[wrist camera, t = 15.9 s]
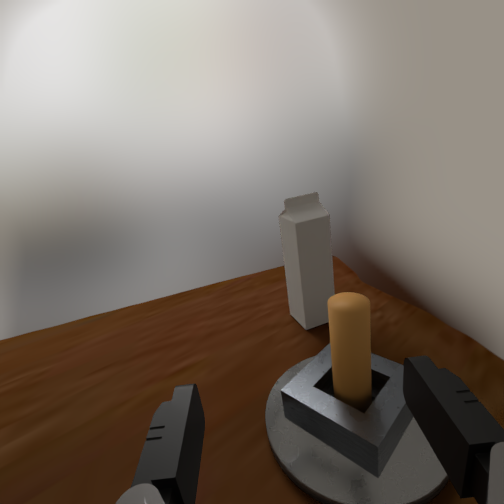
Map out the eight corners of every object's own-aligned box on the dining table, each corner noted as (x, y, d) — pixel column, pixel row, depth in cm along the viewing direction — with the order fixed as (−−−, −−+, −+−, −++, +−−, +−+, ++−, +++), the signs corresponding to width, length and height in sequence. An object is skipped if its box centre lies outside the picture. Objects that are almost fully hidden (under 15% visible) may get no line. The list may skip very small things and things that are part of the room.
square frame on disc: (232, 432, 38) (223, 396, 36) (326, 343, 50) (323, 313, 49) (410, 578, 24) (412, 532, 22) (478, 404, 37) (483, 365, 35)
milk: (290, 314, 60) (275, 196, 52) (318, 304, 61) (308, 189, 54) (306, 331, 54) (292, 202, 47) (337, 319, 56) (328, 193, 48)
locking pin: (328, 412, 37) (319, 305, 32) (346, 391, 39) (340, 288, 34) (361, 431, 34) (357, 317, 29) (378, 407, 36) (377, 298, 32)
